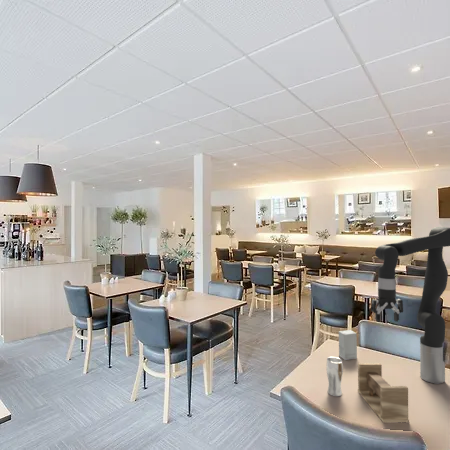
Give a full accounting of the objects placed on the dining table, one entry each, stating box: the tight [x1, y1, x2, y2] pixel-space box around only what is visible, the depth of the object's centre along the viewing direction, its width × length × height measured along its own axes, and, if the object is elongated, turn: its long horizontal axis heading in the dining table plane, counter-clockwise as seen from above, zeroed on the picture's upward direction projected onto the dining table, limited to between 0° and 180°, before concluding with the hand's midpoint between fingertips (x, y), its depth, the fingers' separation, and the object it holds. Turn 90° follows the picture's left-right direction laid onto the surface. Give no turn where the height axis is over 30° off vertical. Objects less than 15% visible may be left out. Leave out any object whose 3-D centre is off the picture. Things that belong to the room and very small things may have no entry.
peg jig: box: [357, 362, 410, 424], centre depth 127 cm, size 22×10×13 cm, turn 0°
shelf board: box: [367, 373, 391, 398], centre depth 127 cm, size 16×4×5 cm, turn 1°
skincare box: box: [338, 329, 358, 361], centre depth 173 cm, size 8×6×15 cm
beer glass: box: [326, 356, 344, 397], centre depth 137 cm, size 7×7×15 cm
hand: (387, 321), depth 144 cm, fingers open, 8 cm apart
